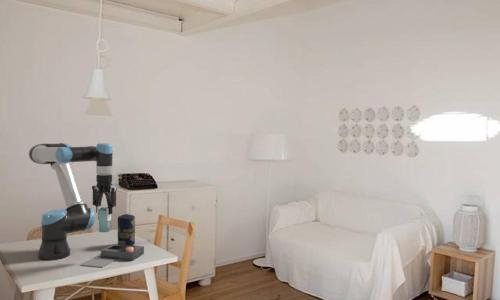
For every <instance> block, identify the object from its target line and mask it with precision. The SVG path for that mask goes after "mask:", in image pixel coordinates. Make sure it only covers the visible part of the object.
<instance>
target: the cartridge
mask: <svg viewBox="0 0 500 300" xmlns="http://www.w3.org/2000/svg"><path fill="white" fill-rule="evenodd" d="M107 207H108V206H102V207H101V208H100V209H99V220H98V232H99V233H108V232H110V223H111V222H110V221H111V220H110V221H107Z"/></svg>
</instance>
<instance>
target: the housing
mask: <svg viewBox="0 0 500 300" xmlns="http://www.w3.org/2000/svg"><path fill="white" fill-rule="evenodd" d="M127 247H134V251H132V252H128V251H126V248H127ZM144 254H145V246H144V245H143V246H142V245H121V244H118V243H113V244H110V245H108V246H107V247H104V248H102V249H101V250H100V258H109V259H116V260H120V261H122V260H123V261H131V262H133V261H135V260H137V259H139V258H140V257H141V256H143V255H144Z"/></svg>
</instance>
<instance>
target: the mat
mask: <svg viewBox="0 0 500 300" xmlns="http://www.w3.org/2000/svg"><path fill="white" fill-rule="evenodd" d="M116 260H117V259H109V258H101V257H97V256H96V257H95V256H94V257H92V258H90V259H88V260H86V261H85V262H83V263H81V264H79V266H81V267H90V268H91V267H92V268H104V267H106V266H108V265H109V263H110V264H111V263H113V262H115V261H116Z"/></svg>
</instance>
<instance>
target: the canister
mask: <svg viewBox="0 0 500 300" xmlns="http://www.w3.org/2000/svg"><path fill="white" fill-rule="evenodd" d="M135 242H136V217H135V215H133V214H127V213H126V214H122V215H119V216H118V217H117V244H121V245H133V246H135Z"/></svg>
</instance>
